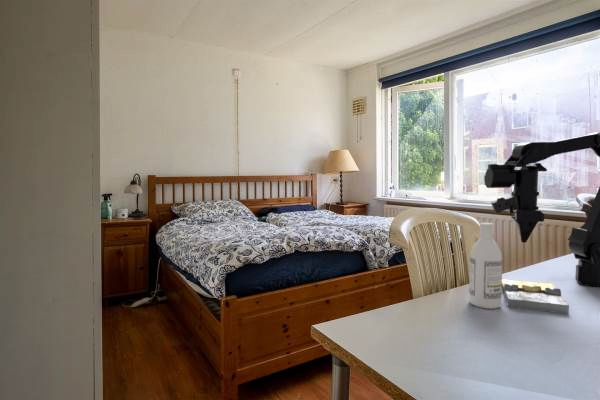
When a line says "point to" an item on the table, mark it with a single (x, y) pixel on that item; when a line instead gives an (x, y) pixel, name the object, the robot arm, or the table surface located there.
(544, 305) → the fixed leaf
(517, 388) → the table surface
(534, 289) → the brass hinge plate
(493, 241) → the bath foam
